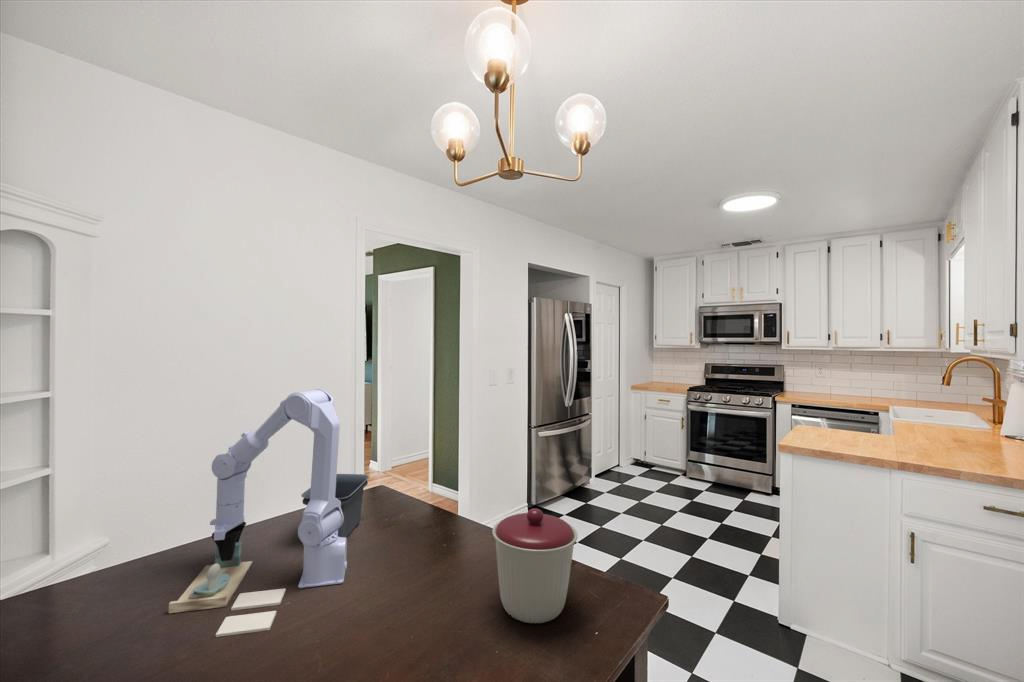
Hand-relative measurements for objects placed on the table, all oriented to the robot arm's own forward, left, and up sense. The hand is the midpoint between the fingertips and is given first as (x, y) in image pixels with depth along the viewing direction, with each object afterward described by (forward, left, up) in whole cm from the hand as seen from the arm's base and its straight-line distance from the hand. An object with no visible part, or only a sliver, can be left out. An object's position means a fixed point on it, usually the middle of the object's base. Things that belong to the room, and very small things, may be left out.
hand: (228, 557), depth 107 cm
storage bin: (-22, -15, -3) cm, 27 cm away
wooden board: (0, +9, -2) cm, 9 cm away
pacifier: (0, +12, -2) cm, 12 cm away
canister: (-67, +33, -3) cm, 75 cm away
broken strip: (-11, +21, -2) cm, 24 cm away
